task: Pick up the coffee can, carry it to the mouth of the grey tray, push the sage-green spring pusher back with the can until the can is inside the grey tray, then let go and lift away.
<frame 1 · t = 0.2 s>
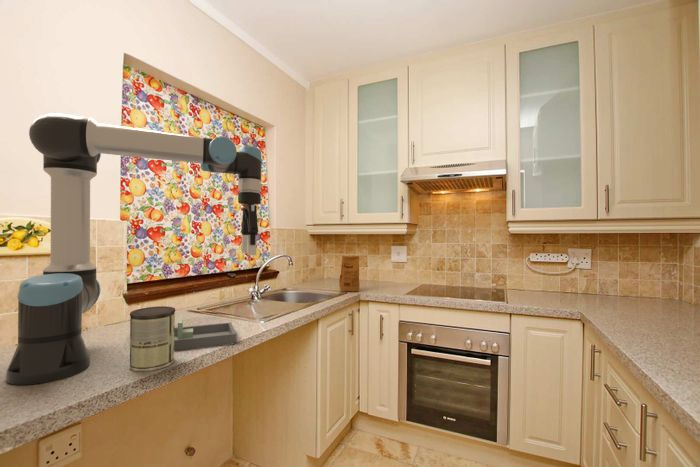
hand: (248, 254, 114), 28 cm above the worktop, tool pointing down, fingers open, 13 cm apart
coffee can: (152, 364, 87), on the worktop
coffee package: (349, 291, 206), on the worktop
pusher: (185, 329, 105), point 4 cm above the worktop, slide at 0.0 cm
grey tray: (210, 339, 108), on the worktop
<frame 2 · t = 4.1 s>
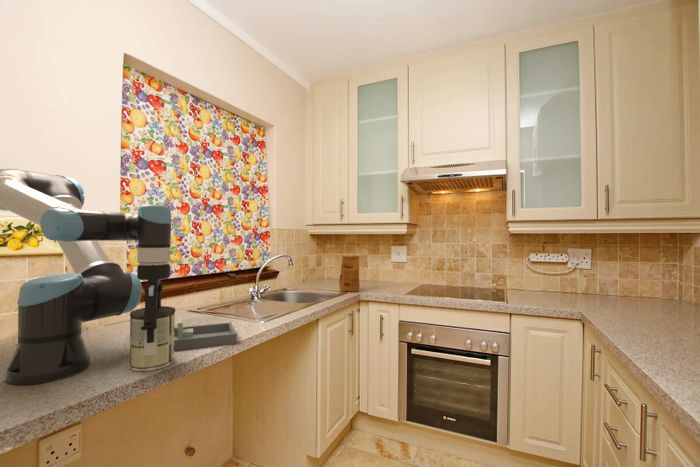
hand: (152, 347, 87), 4 cm above the worktop, tool pointing down, fingers closed on coffee can, 10 cm apart
coffee can: (152, 364, 87), on the worktop, touching gripper
everything else where it was.
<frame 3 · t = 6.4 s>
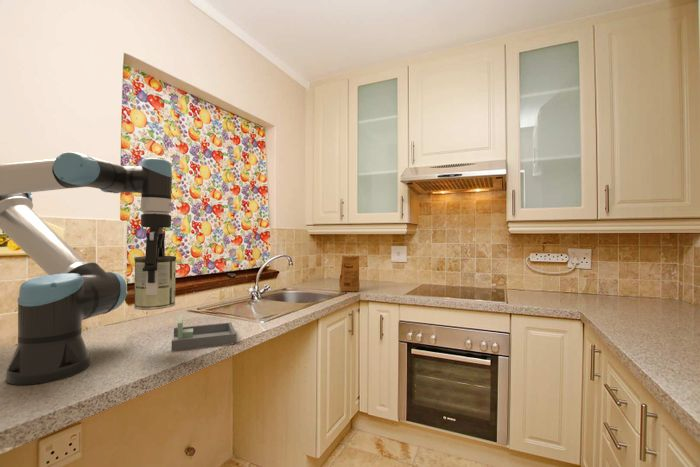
hand: (155, 291, 95), 18 cm above the worktop, tool pointing down, fingers closed on coffee can, 10 cm apart
coffee can: (155, 306, 95), point 13 cm above the worktop, touching gripper
everything else where it was.
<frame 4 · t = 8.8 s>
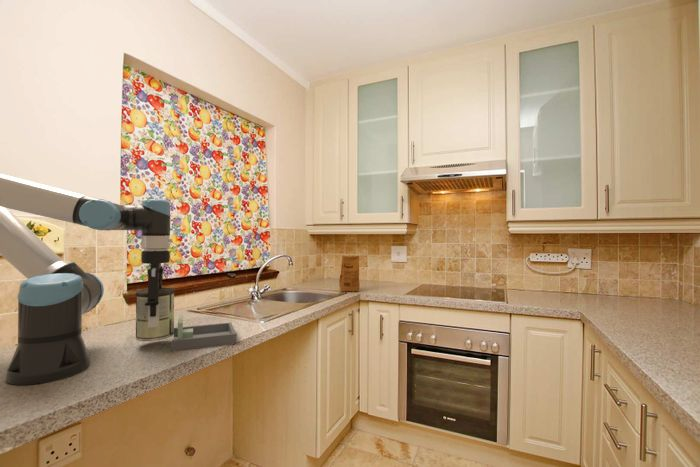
hand: (155, 322, 101), 7 cm above the worktop, tool pointing down, fingers closed on coffee can, 10 cm apart
coffee can: (155, 336, 101), point 3 cm above the worktop, touching gripper
everything else where it was.
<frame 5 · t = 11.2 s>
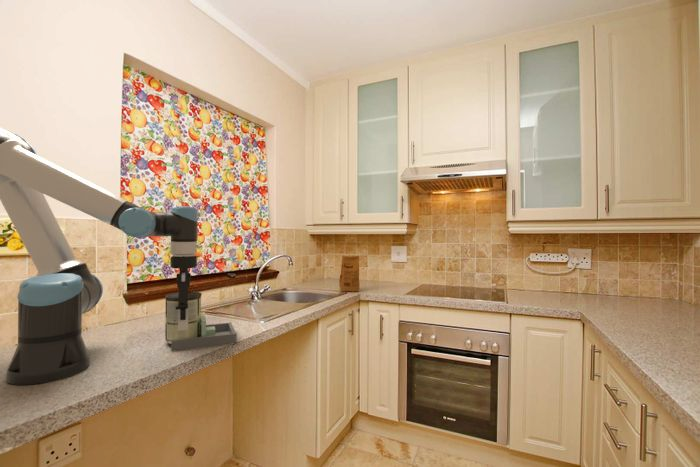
hand: (183, 325, 105), 5 cm above the worktop, tool pointing down, fingers closed on coffee can, 10 cm apart
coffee can: (183, 339, 105), point 1 cm above the worktop, touching gripper, pusher
pusher: (208, 326, 108), point 4 cm above the worktop, slide at 6.5 cm, touching coffee can
everything else where it was.
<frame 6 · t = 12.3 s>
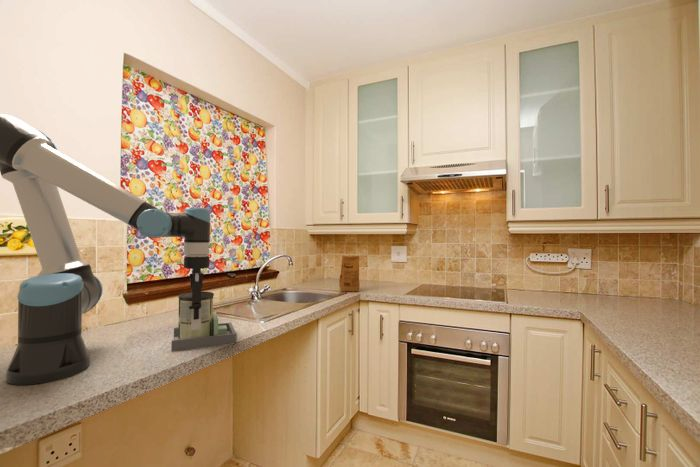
hand: (195, 325, 106), 5 cm above the worktop, tool pointing down, fingers closed on coffee can, 10 cm apart
coffee can: (195, 338, 106), point 1 cm above the worktop, touching gripper
pusher: (219, 325, 109), point 4 cm above the worktop, slide at 10.1 cm
everything else where it was.
when the fingers open (5 cm above the worktop, at t = 13.6 s): coffee can stays where it is, resting on grey tray, pusher.
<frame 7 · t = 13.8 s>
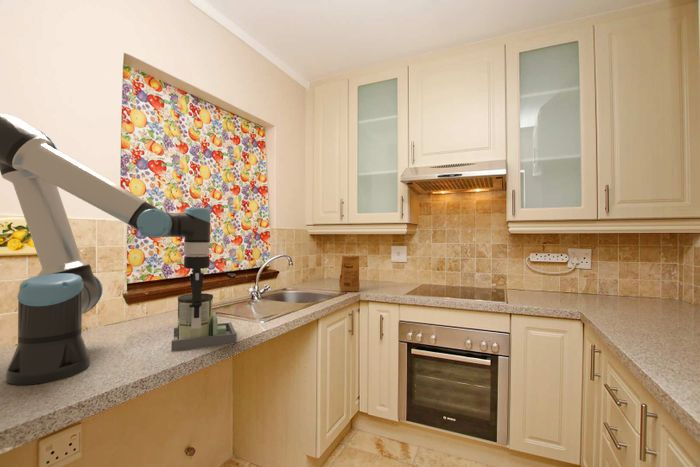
hand: (195, 323, 106), 6 cm above the worktop, tool pointing down, fingers open, 12 cm apart
coffee can: (194, 340, 106), resting on grey tray, pusher
pusher: (219, 325, 109), point 4 cm above the worktop, slide at 9.8 cm, touching coffee can
everything else where it was.
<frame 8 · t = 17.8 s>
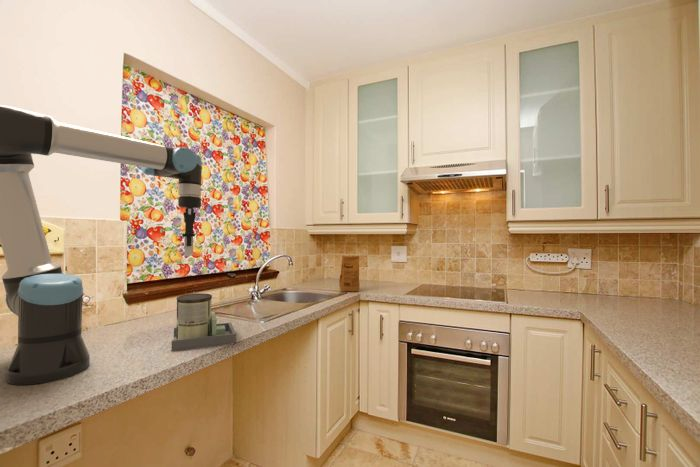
hand: (188, 254, 122), 27 cm above the worktop, tool pointing down, fingers open, 13 cm apart
nothing on the worktop moved.
at the end: coffee can 0.8 cm from the target spot on the grey tray, point 0.1 cm above the grey tray's base; pusher slide at 9.6 cm; coffee can tilted 0° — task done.
